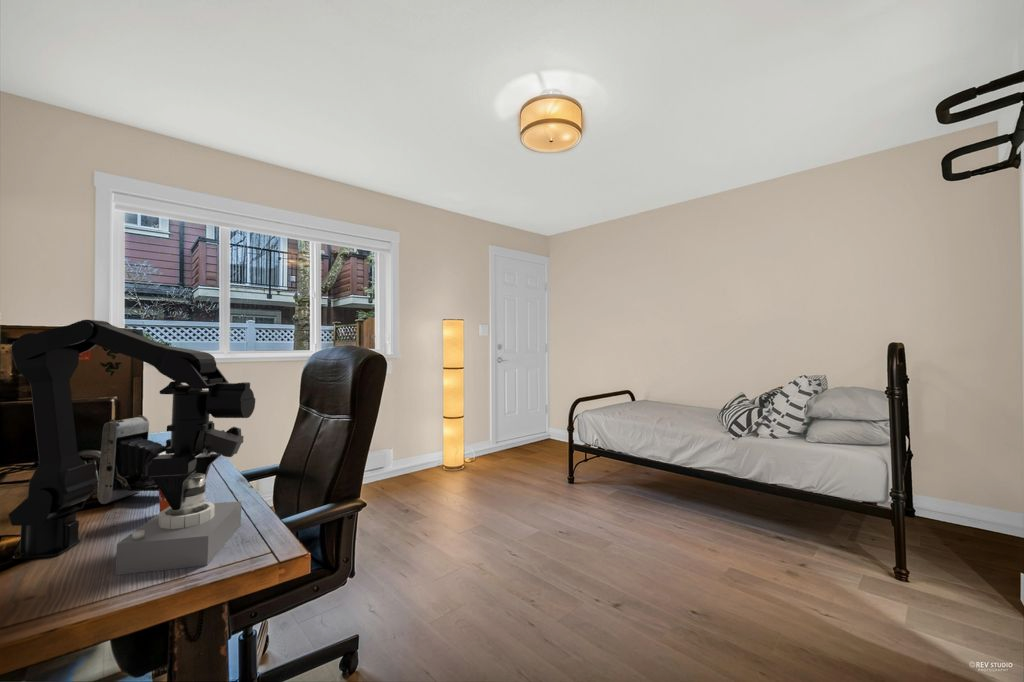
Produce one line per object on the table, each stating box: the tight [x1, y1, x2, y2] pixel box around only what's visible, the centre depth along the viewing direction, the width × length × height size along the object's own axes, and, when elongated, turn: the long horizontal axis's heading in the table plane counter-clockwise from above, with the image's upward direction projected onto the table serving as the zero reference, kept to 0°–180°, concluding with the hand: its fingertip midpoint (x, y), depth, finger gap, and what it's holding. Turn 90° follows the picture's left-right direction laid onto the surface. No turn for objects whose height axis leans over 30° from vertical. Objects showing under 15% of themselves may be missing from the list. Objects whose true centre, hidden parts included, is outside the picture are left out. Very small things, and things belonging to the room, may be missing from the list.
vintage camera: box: [96, 414, 171, 505], centre depth 108 cm, size 10×16×20 cm, turn 89°
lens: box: [170, 473, 207, 516], centre depth 82 cm, size 5×5×8 cm
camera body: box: [115, 500, 242, 576], centre depth 82 cm, size 13×18×7 cm
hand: (187, 501), depth 82 cm, fingers open, 9 cm apart
